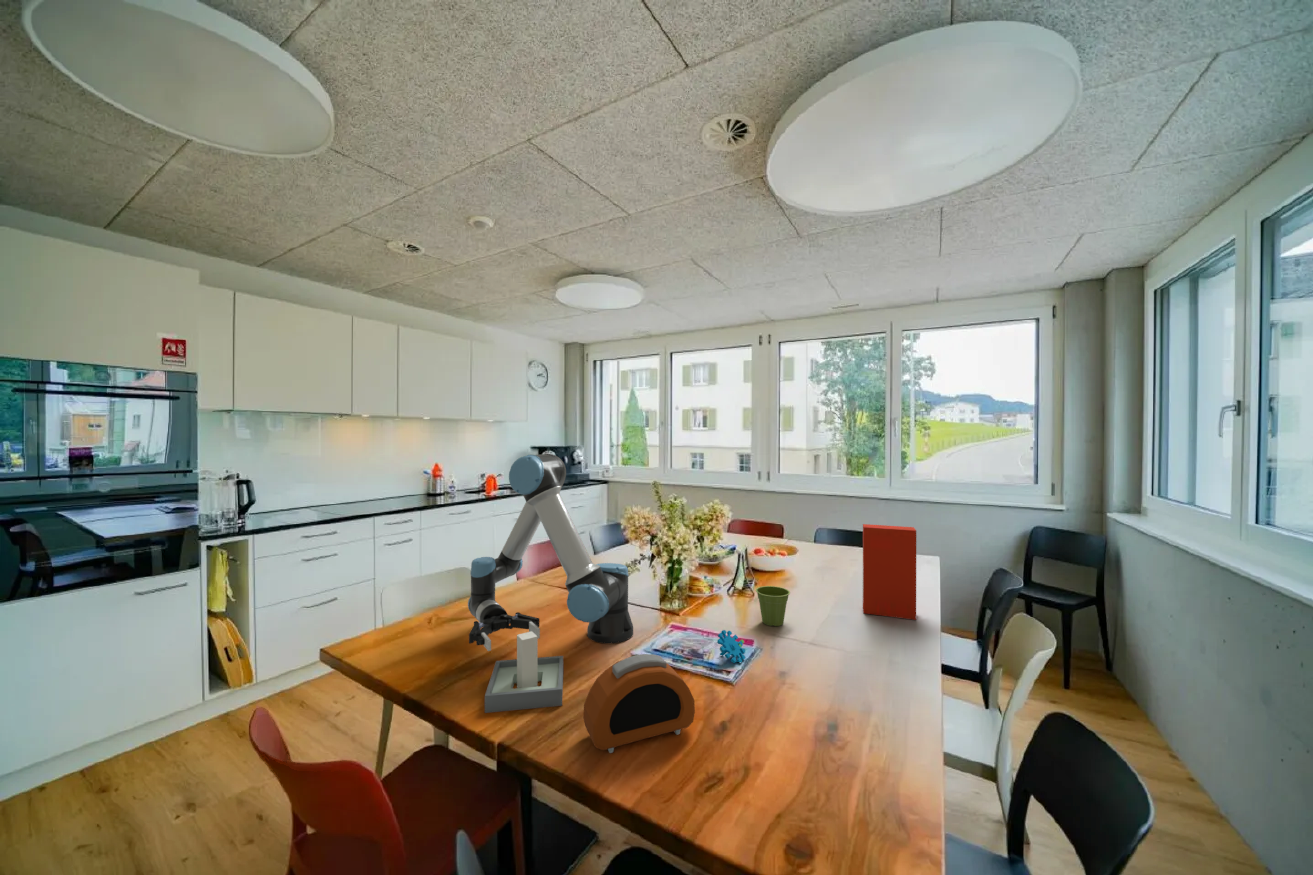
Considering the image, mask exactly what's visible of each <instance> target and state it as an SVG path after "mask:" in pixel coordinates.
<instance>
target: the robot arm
mask: <svg viewBox="0 0 1313 875" xmlns="http://www.w3.org/2000/svg"><path fill="white" fill-rule="evenodd" d="M566 478H567V469H566V465H565V463H564V461H563V459H561V458H560V457H558V456H557V455H555V454H552V453H543V454H527V455H523V456H521V457H518V458H517V459H516V460H514V462H512V464H511V466H510V470H509V471H508V481H509V485H510V486H511V488H512V490H513V491H514V492H516V493H517V494H520V495H523V499H524V500H525V503H524V505H523V507H522V509H521V511H520V514H519V516H518V517H517V519H516V522H515V523H514V525H513V527H512V529H511V531H510V534H509V536H508V537H507V539H506V541H505V543H504V546H503V547H502V550H500V553H499V555H498V557H497V558H494V557H491V556H481V557H477V558H474V559H473V560H472V561H471V563H470V564H471V565H470V567H471V568H470V597H469V598H468V601H467V608H468V610H469V612H470V614H471V615H472V616H473V617H474V618H475V619H476V620H475V621H474V622H473V626H472V627H471V629H470V631H469V634H468V643H469V644H473V643H474V642H476V646H483V647H484V648H485V649H486V650H487V652H490V651H492V639H490V637H489V636H488V635H490V634H492V633H494V632H495V633H496V632H499V631H500V630H505V629H508V630H513V629H522V630H523V629H524V630H528V632H531V631H532V632H533V633H534V634H535V635H537V636H538V639H541V634H540V633H541V628H540V617H535V616H532V615H527V614H522V612H515V615H510V614H508V613H507V612H508V611H507V610H506V609H505V608H504V607H503V606H502V605H500V604H499V603H498V602H497V601H496V583H499V582H501V581H504V579H507V578H509V577H512V576H514V575H516V574H517V573H518V572H520V571H521V570H522V567H523V562H524V561H523V557H524V555H525V553H526V551H527V550H528V547H529V545H530V543H531V541H532V539H533V537H534V535H535V533H536V531H537V530H538V527H539V525H540V524H542V526H543V528H544V530H545V532H546V535H547V537H548V539H549V542H550V544H551V545H552V547H553V550H554V551H555V554H556V556H557V558H558V560H559V562H560V564H561V567H562V569H563V571H564V572H565V576H566V580H565V583H564V584H565V587H566V589H567V592H568V594H567V599H566V605H567V606H566V607H567V609H568V612H569V613H570V615H571V616H572V617H574V618H575V619H576V620H578V621H581V622H583V623H588V625H587V629H586V630H587V632H586V633H587V636H586V637H588V639H589V640H591V641H592V642H596V643H601V644H617V643H622V642H625V641H628V640H629V639H631V638H632V637H633V636H634V624H633V622H632V618H631V615H630V613H629V576H630V575H629V569H628V567H627V565H624V564H621V563H613V562H609V563H608V562H603V563H602V562H601V563H596V564H595V563H594V562H593V561H592V559H591V557H590V555H589V553H588V550H587V549H586V547H585V544H584V542H583V540H582V538H581V536H580V534H579V532H578V530H577V528H576V525H575V524H574V520H573V519H572V517H571V515H570V513H569V511H568V509H567V507H566V504H565V503H564V501H563V498H562V496H561V494H560V493H561V490H562V487H563V485H564V483H565V480H566Z"/></svg>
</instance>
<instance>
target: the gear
mask: <svg viewBox="0 0 1313 875" xmlns="http://www.w3.org/2000/svg"><path fill="white" fill-rule="evenodd" d="M717 637H718V639H717V640H716V641H717V642H716V643H717V644H718V645H720V647H719V650H720V653H719V656H720V655H722V656H721V657H723V656H724V658H726V659H727V660H728V659H729V658H730V657H732V658H731V659H730V662H731V663H733V664H735V663H737V662H741V663H743V660H745V658H746V656H745V655H744V654H746V649H745V648H742V647H743V645H744V644H745V641H744V639H740V640H739V641H738V639H739V637H738V635H737V634H734V635H733V632H732V631H731V630H725V629H722V630H721V631H720V633H718V635H717Z"/></svg>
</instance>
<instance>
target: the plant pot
mask: <svg viewBox="0 0 1313 875" xmlns="http://www.w3.org/2000/svg"><path fill="white" fill-rule="evenodd" d="M755 592H756V594H757V598H758V602H759V608H760V615H761V621H762V623H763V624H764V625H766V626H768V627H769V626H770V627H772V626H774V627H781V626H783V625H784V623H785V617H786V616H785V615H786V610H787V604H788V603H787V602H788V600H789V596H790V594H791V591H790V590H789V589H787V588H785V587H781V586H775V585H774V586H773V585H766V586H765V585H764V586H759V587H757V588H755Z"/></svg>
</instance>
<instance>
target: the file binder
mask: <svg viewBox="0 0 1313 875" xmlns="http://www.w3.org/2000/svg"><path fill="white" fill-rule="evenodd" d="M862 611H863V612H862V613H863V614H867V615H872V616H873V615H874V616H883V617H890V618H898V619H905V620H906V619H907V620H914V621H916V620H917V529H916V528H915V527H914V526H899V525H881V524H865V523H863V524H862Z"/></svg>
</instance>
